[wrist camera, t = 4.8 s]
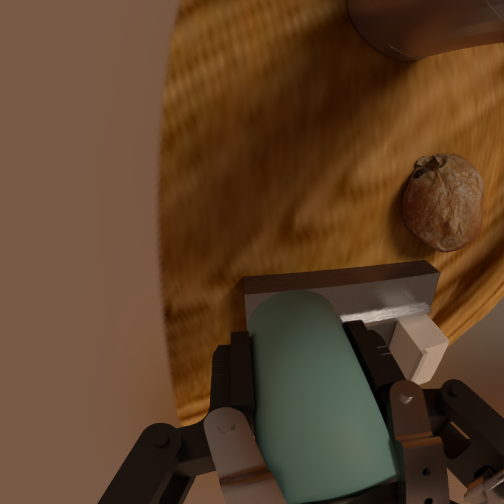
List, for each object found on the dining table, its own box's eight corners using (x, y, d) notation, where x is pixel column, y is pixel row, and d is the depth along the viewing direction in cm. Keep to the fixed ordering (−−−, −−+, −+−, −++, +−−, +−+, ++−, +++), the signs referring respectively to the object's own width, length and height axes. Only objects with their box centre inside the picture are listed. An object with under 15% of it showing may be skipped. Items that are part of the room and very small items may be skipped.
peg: (244, 293, 11) (259, 500, 4) (340, 285, 11) (429, 456, 4) (249, 360, 13) (261, 520, 6) (328, 352, 13) (377, 496, 6)
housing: (243, 277, 25) (244, 300, 22) (425, 259, 26) (444, 276, 23) (251, 386, 32) (253, 410, 28) (394, 362, 33) (405, 381, 29)
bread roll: (424, 141, 24) (448, 121, 17) (484, 200, 23) (520, 199, 15) (378, 208, 27) (393, 208, 20) (441, 266, 26) (470, 284, 18)
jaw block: (397, 319, 25) (423, 354, 20) (426, 313, 25) (452, 344, 20) (384, 359, 28) (403, 394, 22) (411, 352, 28) (432, 384, 23)
